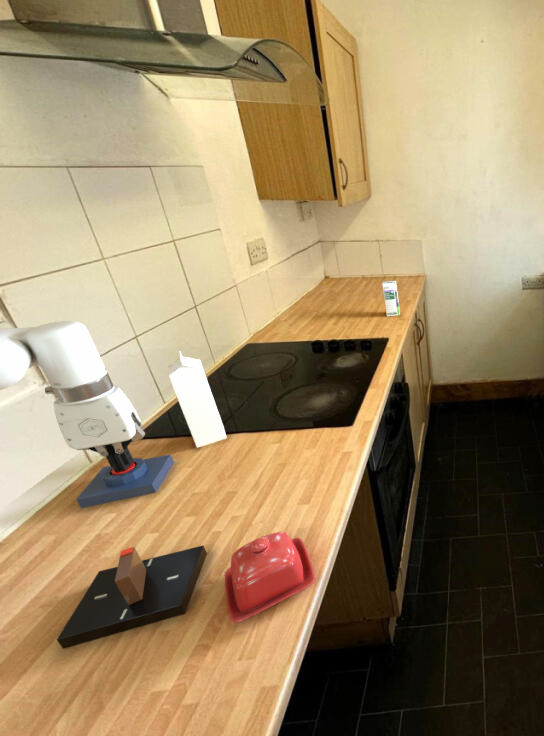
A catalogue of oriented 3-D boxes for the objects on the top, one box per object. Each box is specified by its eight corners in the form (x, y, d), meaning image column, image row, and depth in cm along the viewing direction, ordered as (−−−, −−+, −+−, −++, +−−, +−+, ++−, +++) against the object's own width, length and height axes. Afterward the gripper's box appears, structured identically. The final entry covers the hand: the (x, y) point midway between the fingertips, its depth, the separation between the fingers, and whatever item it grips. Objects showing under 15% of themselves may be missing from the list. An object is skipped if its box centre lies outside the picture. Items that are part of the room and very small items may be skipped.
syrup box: (386, 316, 180) (381, 284, 174) (386, 312, 185) (382, 280, 179) (400, 315, 181) (395, 283, 175) (400, 311, 187) (396, 279, 181)
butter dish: (302, 539, 72) (291, 501, 69) (319, 588, 64) (308, 548, 60) (225, 574, 66) (208, 535, 63) (232, 634, 58) (214, 592, 54)
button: (111, 482, 82) (107, 475, 82) (119, 471, 86) (116, 464, 85) (133, 477, 84) (129, 471, 83) (140, 466, 87) (137, 460, 86)
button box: (80, 508, 79) (71, 492, 78) (107, 475, 88) (99, 460, 86) (156, 492, 83) (148, 476, 81) (174, 462, 92) (168, 447, 90)
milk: (196, 448, 96) (162, 363, 87) (195, 436, 101) (161, 353, 92) (227, 438, 100) (197, 355, 91) (224, 427, 104) (195, 346, 95)
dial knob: (142, 599, 60) (128, 574, 58) (128, 605, 59) (113, 580, 57) (146, 569, 65) (133, 545, 63) (133, 575, 64) (120, 550, 62)
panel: (62, 649, 56) (55, 639, 55) (104, 579, 65) (98, 570, 65) (185, 614, 60) (180, 604, 59) (207, 553, 70) (203, 544, 69)
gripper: (17, 405, 71) (66, 488, 79) (124, 389, 76) (161, 470, 83) (45, 385, 77) (88, 464, 85) (142, 372, 82) (174, 448, 89)
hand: (124, 467), depth 84 cm, fingers closed
